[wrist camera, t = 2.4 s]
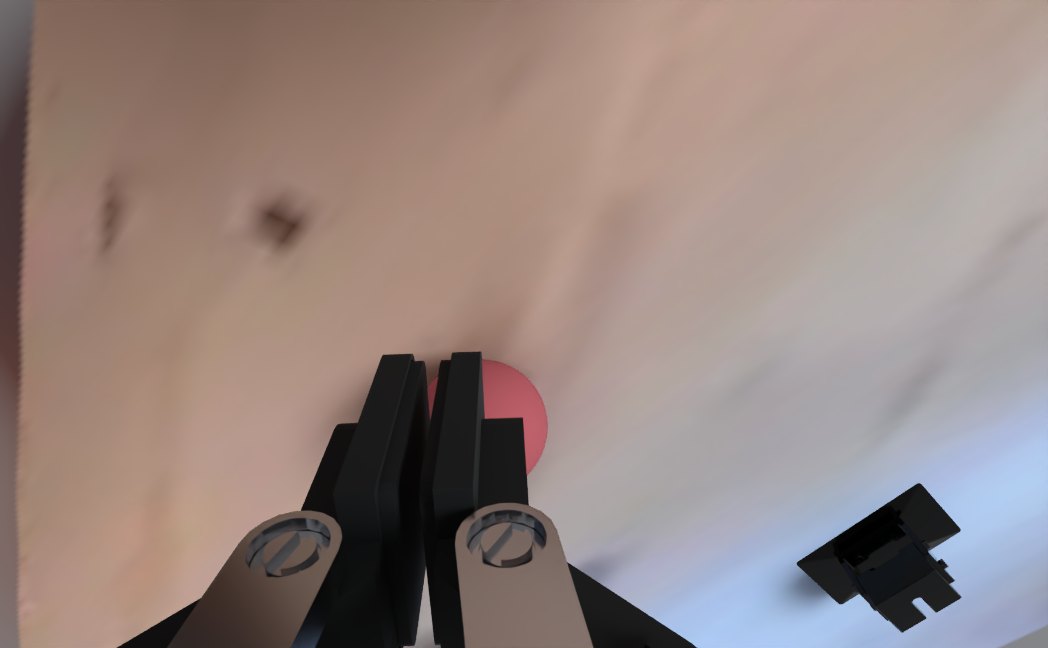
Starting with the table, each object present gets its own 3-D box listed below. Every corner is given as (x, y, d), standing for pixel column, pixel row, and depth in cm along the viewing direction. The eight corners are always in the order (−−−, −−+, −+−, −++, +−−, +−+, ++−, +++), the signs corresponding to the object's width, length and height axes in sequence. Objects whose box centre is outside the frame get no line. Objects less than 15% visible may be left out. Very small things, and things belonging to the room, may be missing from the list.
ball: (416, 339, 30) (398, 407, 25) (542, 335, 30) (552, 401, 25) (426, 444, 33) (412, 527, 27) (543, 440, 33) (552, 521, 27)
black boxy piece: (815, 623, 40) (851, 691, 36) (748, 562, 38) (779, 628, 34) (996, 512, 37) (1059, 573, 33) (935, 438, 35) (994, 494, 30)
